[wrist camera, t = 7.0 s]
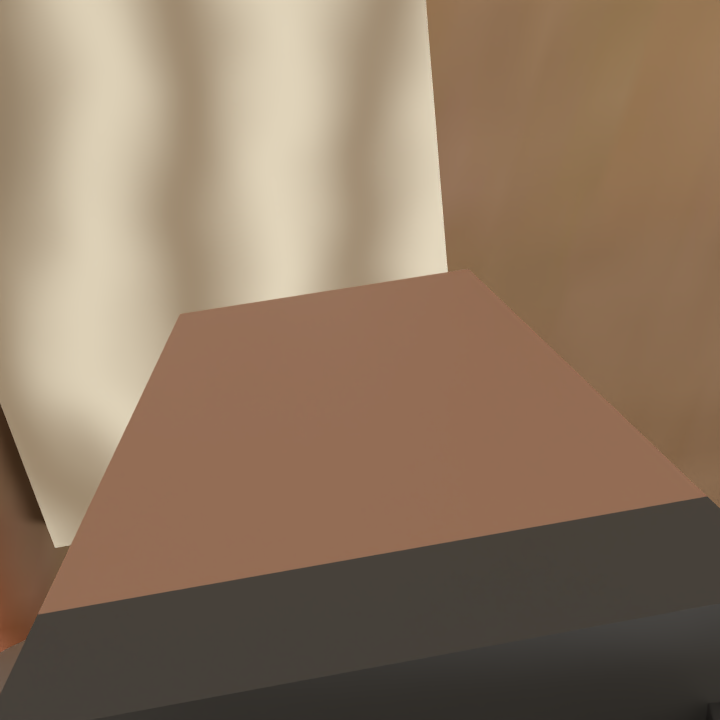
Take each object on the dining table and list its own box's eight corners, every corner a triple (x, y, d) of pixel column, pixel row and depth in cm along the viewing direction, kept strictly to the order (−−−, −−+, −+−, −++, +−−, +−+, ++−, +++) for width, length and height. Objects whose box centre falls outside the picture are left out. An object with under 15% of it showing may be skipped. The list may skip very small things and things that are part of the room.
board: (408, -99, 22) (416, -112, 21) (455, 460, 31) (464, 477, 29) (-138, -30, 21) (-167, -38, 20) (65, 526, 30) (54, 547, 28)
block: (468, 268, 11) (804, 587, 4) (485, 508, 13) (732, 1020, 6) (179, 313, 11) (-21, 742, 4) (238, 550, 13) (180, 1139, 6)
